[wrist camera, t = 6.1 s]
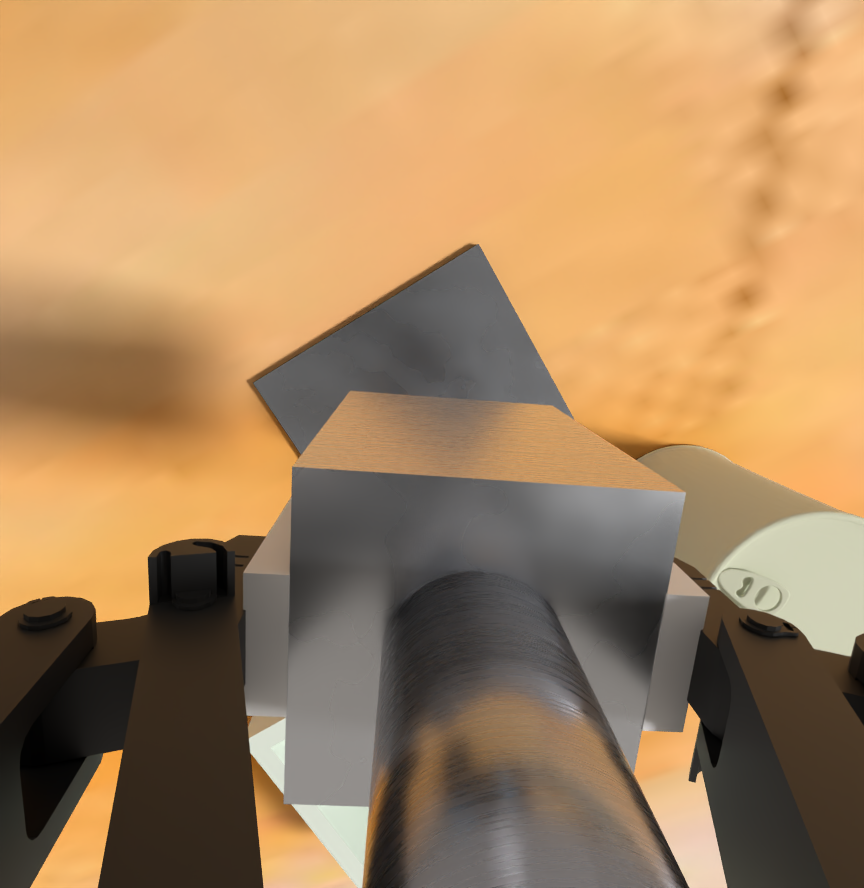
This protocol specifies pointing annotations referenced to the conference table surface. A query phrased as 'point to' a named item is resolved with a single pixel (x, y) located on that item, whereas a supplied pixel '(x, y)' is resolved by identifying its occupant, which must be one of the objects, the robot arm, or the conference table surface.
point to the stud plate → (417, 352)
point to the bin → (329, 823)
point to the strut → (478, 642)
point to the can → (769, 545)
